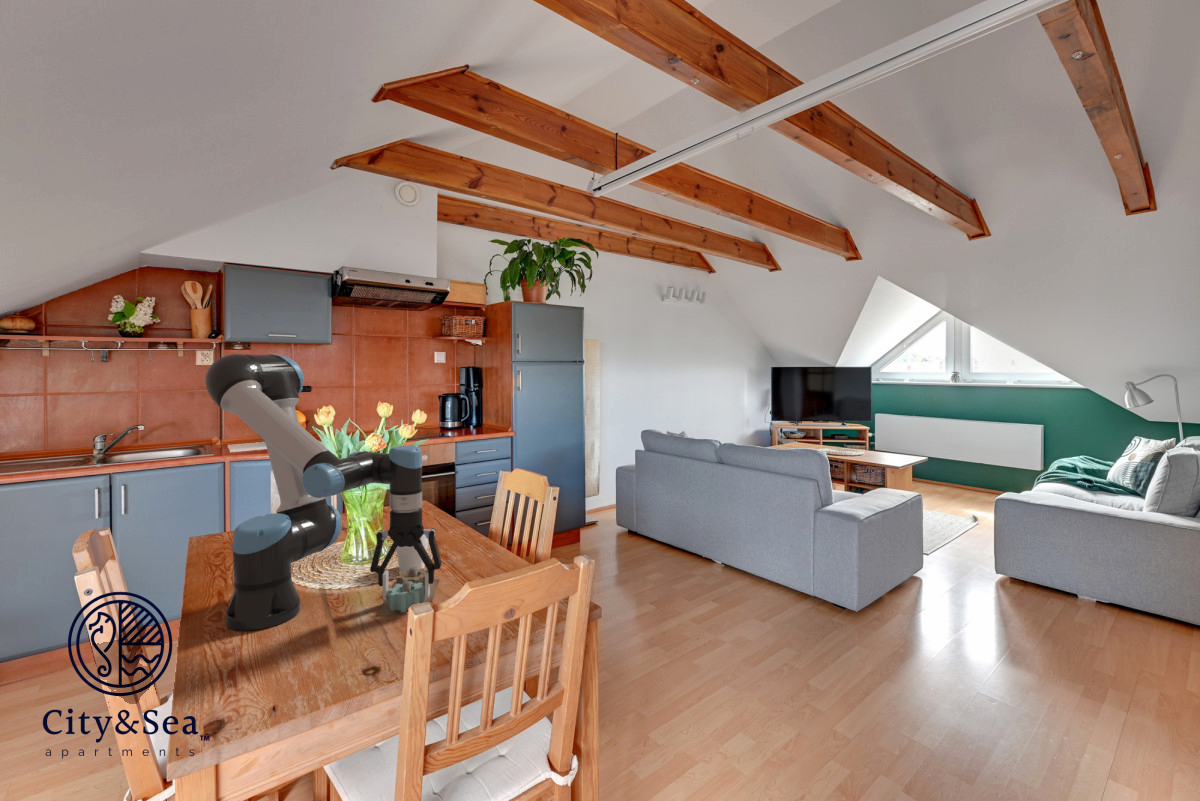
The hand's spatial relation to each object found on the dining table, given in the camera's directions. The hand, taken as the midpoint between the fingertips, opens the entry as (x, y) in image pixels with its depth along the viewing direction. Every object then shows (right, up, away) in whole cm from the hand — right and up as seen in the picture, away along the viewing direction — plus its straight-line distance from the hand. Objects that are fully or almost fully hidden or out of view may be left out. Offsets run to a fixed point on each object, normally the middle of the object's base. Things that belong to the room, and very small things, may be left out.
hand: (406, 596), depth 132 cm
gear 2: (0, -2, 0) cm, 2 cm away
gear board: (-1, -3, +5) cm, 5 cm away
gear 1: (-2, -1, +9) cm, 9 cm away
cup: (-7, -2, +23) cm, 24 cm away
